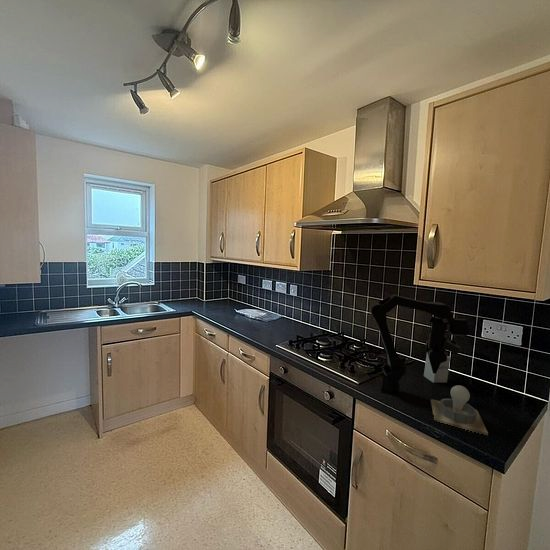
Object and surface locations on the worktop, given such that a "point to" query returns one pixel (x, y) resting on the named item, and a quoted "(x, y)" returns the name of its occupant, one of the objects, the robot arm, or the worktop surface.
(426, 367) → the supplement box
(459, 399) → the lightbulb
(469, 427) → the socket board
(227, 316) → the worktop surface
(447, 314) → the robot arm
